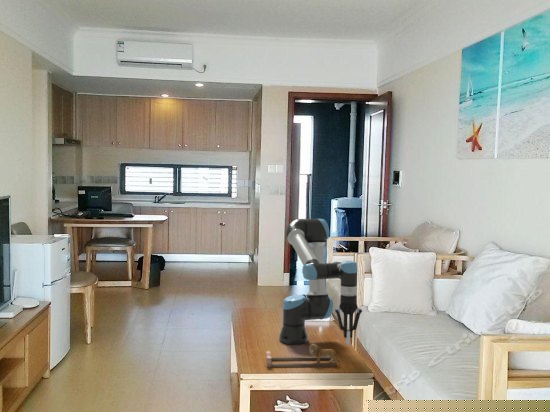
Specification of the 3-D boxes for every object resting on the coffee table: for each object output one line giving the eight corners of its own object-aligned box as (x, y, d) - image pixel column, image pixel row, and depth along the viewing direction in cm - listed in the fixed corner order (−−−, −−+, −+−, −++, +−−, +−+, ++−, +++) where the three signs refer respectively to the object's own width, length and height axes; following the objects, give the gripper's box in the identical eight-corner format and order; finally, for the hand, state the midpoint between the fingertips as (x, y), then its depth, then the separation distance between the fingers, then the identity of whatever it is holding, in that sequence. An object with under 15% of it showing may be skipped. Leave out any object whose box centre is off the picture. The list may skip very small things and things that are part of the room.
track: (265, 359, 253) (265, 351, 253) (332, 358, 255) (332, 350, 255) (266, 367, 243) (266, 358, 243) (336, 366, 245) (336, 357, 245)
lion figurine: (309, 364, 247) (309, 345, 247) (308, 360, 253) (308, 342, 252) (340, 364, 248) (341, 345, 247) (339, 361, 253) (339, 342, 252)
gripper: (336, 296, 245) (335, 347, 246) (364, 296, 245) (363, 346, 246) (333, 292, 252) (332, 342, 253) (360, 292, 253) (359, 341, 254)
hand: (347, 344), depth 250 cm, fingers closed
